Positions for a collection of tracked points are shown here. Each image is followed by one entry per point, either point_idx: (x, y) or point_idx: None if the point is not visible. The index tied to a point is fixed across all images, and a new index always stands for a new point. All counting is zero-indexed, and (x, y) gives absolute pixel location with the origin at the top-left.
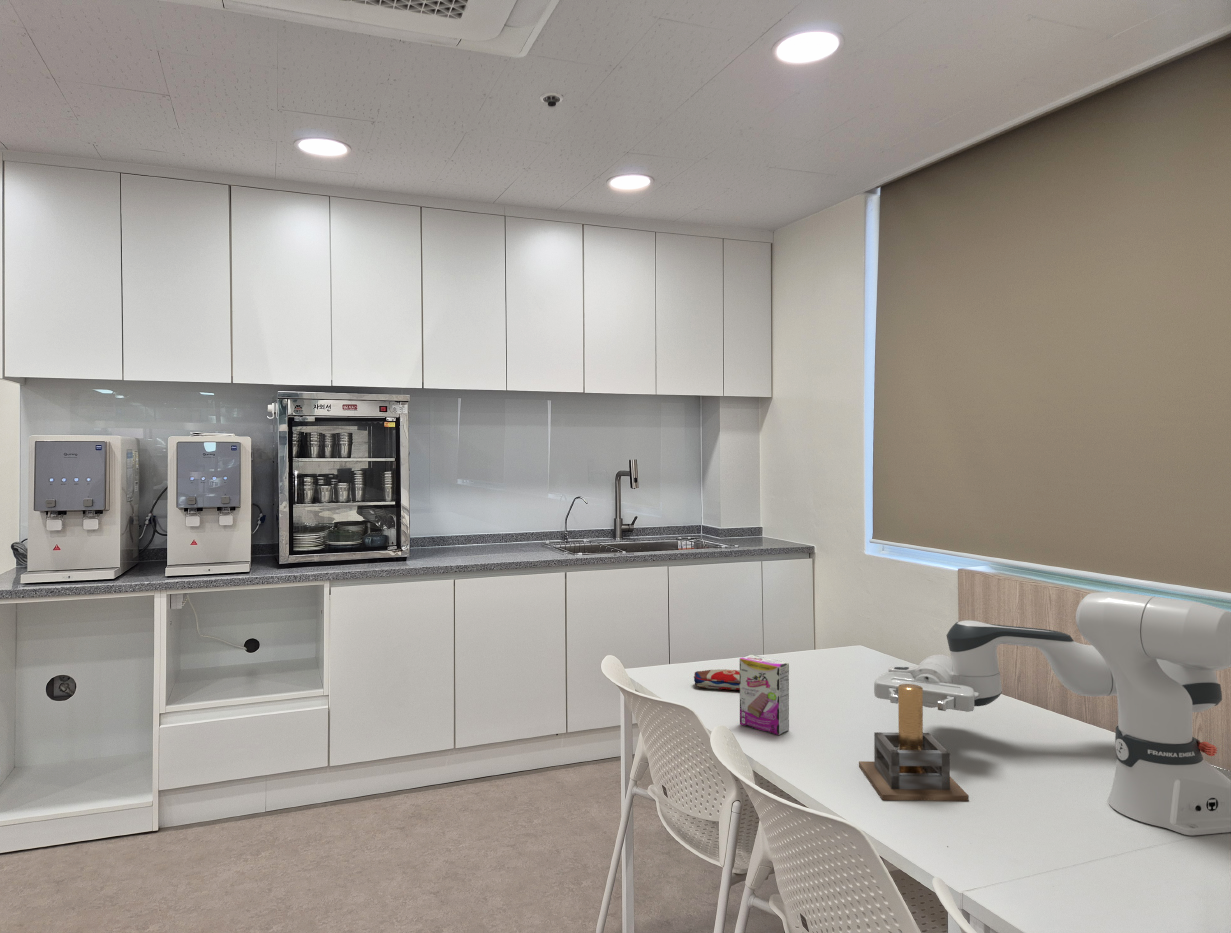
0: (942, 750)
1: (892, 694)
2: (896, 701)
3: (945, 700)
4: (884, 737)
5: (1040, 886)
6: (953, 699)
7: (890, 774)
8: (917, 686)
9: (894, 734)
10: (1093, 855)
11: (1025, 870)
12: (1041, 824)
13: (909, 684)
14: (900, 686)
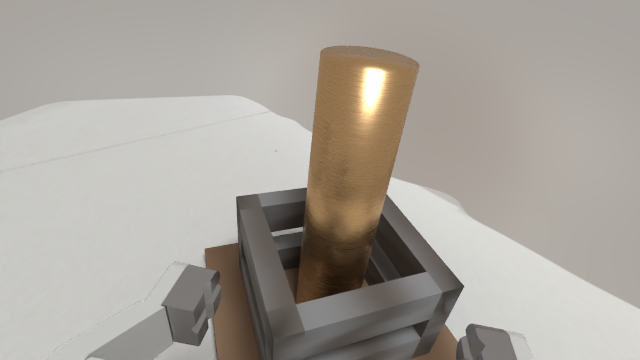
0: (251, 207)
1: (515, 340)
2: (465, 340)
3: (152, 302)
4: (418, 253)
5: (198, 118)
6: (63, 348)
7: None
8: (343, 60)
9: (397, 284)
10: (86, 156)
11: (200, 131)
12: (102, 207)
13: (380, 68)
14: (408, 60)
